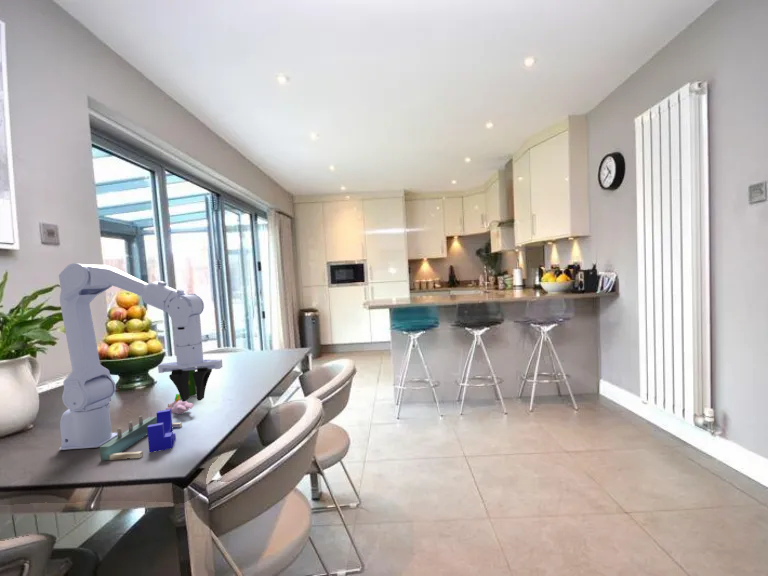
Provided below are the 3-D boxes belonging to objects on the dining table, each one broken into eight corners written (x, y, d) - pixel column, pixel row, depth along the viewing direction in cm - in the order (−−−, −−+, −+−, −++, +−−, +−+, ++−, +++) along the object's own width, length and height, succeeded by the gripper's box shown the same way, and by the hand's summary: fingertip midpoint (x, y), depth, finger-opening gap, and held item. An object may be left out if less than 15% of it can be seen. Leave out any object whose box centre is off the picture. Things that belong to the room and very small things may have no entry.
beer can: (195, 393, 133) (192, 359, 133) (198, 396, 129) (196, 361, 128) (178, 397, 130) (175, 362, 129) (180, 400, 125) (178, 364, 125)
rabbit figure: (162, 416, 115) (177, 418, 105) (159, 396, 116) (174, 396, 105) (184, 410, 120) (200, 411, 109) (181, 391, 120) (198, 391, 110)
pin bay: (100, 460, 83) (99, 438, 83) (149, 428, 101) (148, 409, 101) (140, 457, 83) (138, 435, 83) (181, 426, 101) (180, 407, 101)
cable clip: (171, 449, 87) (169, 423, 87) (149, 453, 86) (147, 427, 86) (179, 430, 99) (177, 407, 98) (159, 434, 97) (157, 411, 97)
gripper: (148, 349, 88) (153, 407, 88) (211, 345, 88) (216, 403, 88) (165, 344, 95) (169, 397, 95) (224, 340, 95) (228, 393, 96)
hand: (193, 399), depth 92 cm, fingers open, 3 cm apart
